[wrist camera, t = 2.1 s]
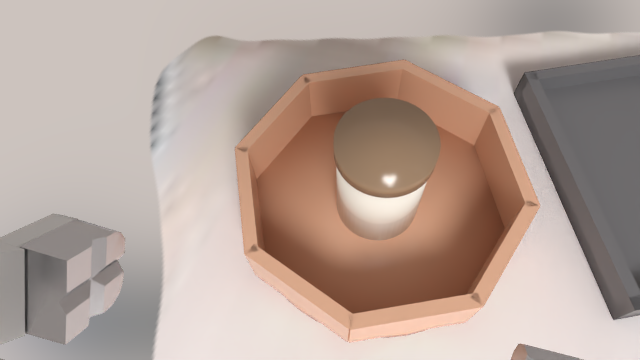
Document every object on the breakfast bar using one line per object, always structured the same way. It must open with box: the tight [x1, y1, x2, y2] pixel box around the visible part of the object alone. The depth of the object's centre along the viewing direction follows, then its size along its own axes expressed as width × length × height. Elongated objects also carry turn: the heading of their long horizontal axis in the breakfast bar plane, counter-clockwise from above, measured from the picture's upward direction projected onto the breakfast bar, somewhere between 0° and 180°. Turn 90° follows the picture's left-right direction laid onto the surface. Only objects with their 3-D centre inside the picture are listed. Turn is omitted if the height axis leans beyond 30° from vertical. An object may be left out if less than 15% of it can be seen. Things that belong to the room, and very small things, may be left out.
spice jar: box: [333, 98, 441, 240], centre depth 30 cm, size 6×6×8 cm
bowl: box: [235, 60, 540, 343], centre depth 32 cm, size 18×18×5 cm
